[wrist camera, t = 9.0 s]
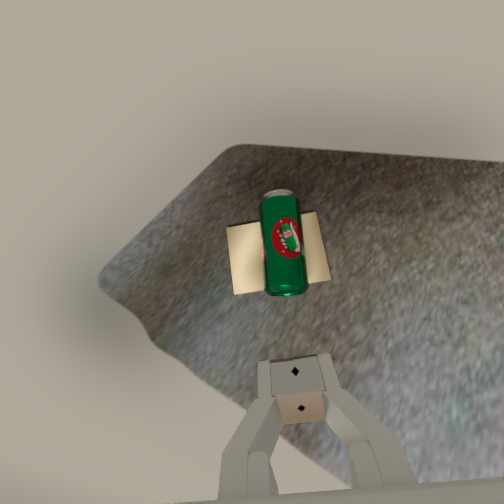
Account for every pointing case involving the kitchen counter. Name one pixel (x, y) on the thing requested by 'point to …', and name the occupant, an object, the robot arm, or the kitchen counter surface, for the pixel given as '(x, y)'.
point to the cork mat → (250, 254)
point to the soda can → (282, 244)
